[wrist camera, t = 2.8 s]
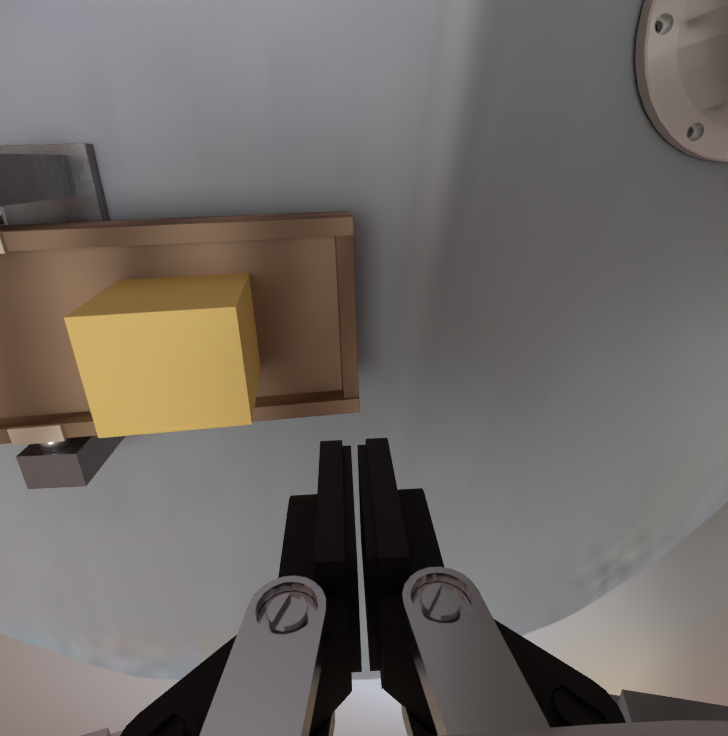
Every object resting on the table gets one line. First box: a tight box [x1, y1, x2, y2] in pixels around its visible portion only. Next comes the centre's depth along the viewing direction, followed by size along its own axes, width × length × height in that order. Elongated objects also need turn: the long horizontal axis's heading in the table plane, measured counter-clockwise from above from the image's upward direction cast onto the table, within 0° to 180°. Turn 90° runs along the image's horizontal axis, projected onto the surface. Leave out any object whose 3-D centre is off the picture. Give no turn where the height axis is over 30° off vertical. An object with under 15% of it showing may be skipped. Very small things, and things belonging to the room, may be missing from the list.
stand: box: [0, 144, 125, 489], centre depth 25 cm, size 5×17×7 cm, turn 1°
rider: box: [64, 273, 261, 438], centre depth 21 cm, size 6×5×6 cm
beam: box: [0, 211, 360, 446], centre depth 23 cm, size 32×10×3 cm, turn 91°
